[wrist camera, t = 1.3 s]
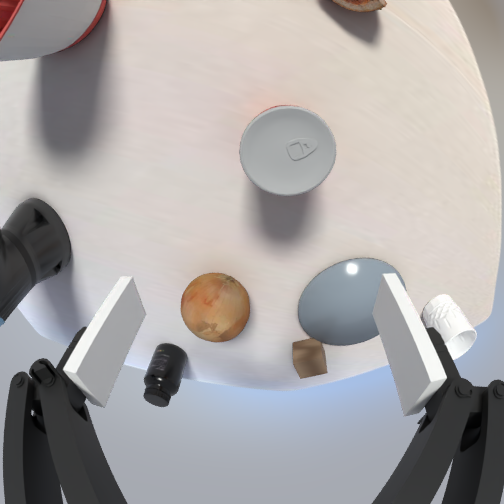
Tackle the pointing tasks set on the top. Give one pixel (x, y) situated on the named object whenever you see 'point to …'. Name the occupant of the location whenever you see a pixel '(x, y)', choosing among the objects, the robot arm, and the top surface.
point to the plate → (343, 301)
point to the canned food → (287, 150)
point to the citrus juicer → (45, 26)
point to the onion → (215, 307)
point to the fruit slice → (361, 5)
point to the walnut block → (309, 358)
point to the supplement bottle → (164, 374)
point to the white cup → (450, 324)
